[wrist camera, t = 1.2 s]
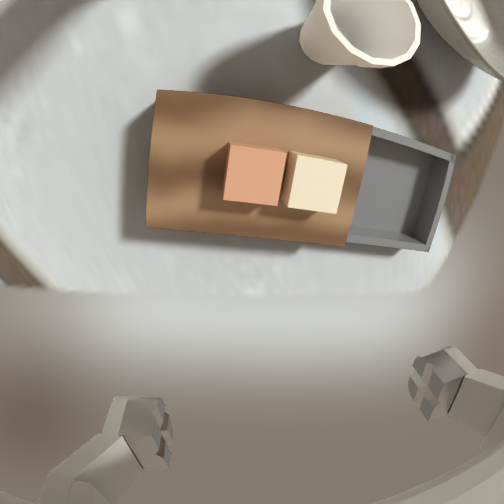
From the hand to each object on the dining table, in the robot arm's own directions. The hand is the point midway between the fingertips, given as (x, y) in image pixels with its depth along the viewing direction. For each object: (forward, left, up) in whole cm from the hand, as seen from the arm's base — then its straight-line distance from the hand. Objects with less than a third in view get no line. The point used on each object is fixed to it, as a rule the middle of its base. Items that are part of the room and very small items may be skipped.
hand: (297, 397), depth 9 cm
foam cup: (-19, +8, -31) cm, 37 cm away
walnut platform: (-2, +2, -31) cm, 31 cm away
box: (-2, +21, -31) cm, 37 cm away
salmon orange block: (-2, +1, -25) cm, 25 cm away
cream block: (-2, +7, -25) cm, 26 cm away
